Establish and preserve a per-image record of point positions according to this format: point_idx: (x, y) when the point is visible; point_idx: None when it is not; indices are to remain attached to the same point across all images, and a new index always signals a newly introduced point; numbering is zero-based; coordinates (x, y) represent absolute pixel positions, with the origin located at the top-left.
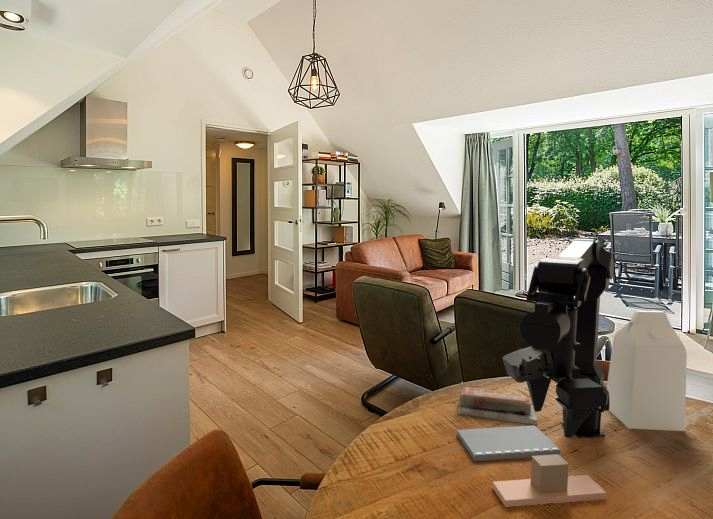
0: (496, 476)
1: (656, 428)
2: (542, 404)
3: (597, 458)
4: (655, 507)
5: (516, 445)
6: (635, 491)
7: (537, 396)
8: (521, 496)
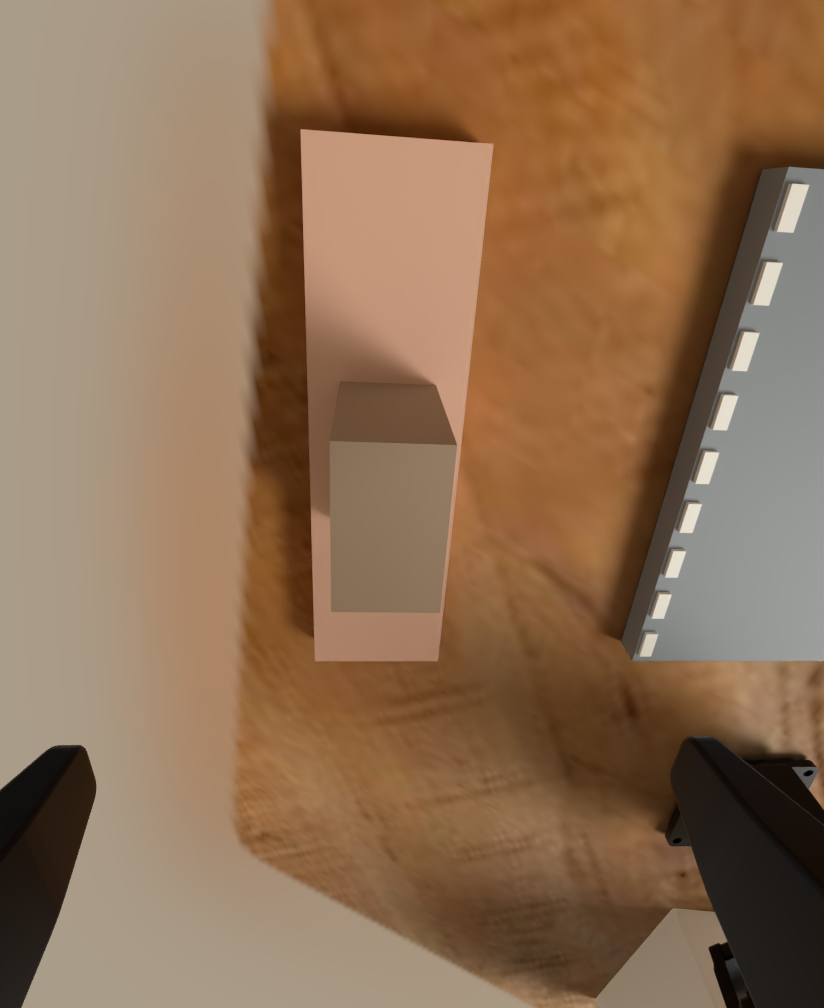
0: (579, 239)
1: (633, 961)
2: (705, 869)
3: (555, 747)
4: (261, 751)
5: (753, 491)
6: (349, 747)
7: (811, 955)
8: (328, 261)
